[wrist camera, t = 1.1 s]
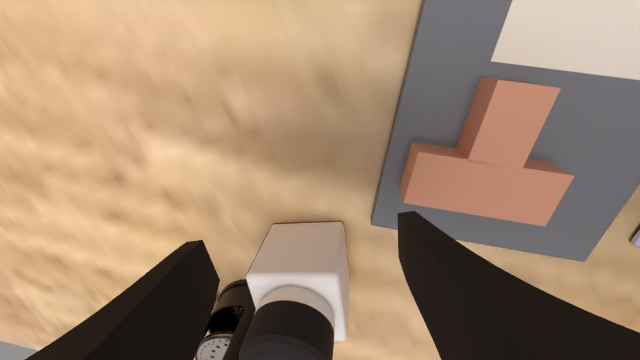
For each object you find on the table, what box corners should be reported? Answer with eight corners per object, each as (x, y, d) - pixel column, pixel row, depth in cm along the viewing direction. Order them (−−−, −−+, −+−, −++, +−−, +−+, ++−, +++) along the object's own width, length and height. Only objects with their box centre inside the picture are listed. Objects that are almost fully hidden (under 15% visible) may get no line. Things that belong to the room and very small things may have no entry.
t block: (587, 90, 17) (621, 96, 15) (525, 208, 21) (544, 226, 19) (431, 70, 18) (441, 72, 16) (398, 188, 22) (403, 203, 20)
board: (875, -187, 12) (916, -207, 11) (575, 253, 23) (584, 262, 23) (472, -211, 14) (480, -231, 13) (370, 218, 25) (371, 225, 24)
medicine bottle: (271, 222, 26) (210, 338, 16) (343, 220, 25) (332, 343, 14) (284, 277, 29) (241, 407, 18) (350, 277, 28) (344, 416, 17)
